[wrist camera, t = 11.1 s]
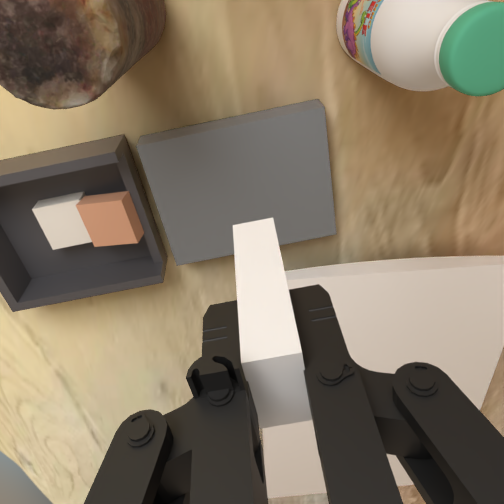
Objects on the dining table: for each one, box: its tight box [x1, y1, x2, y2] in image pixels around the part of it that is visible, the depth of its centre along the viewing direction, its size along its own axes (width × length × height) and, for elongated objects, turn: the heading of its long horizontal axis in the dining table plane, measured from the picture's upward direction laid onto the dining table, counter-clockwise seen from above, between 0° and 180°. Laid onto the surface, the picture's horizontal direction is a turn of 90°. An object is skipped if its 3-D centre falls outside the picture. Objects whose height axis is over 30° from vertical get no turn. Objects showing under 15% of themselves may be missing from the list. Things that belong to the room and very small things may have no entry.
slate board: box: [136, 99, 336, 266], centre depth 46 cm, size 14×18×3 cm
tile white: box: [32, 191, 92, 250], centre depth 47 cm, size 5×5×2 cm
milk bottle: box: [336, 0, 504, 96], centre depth 32 cm, size 8×8×20 cm
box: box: [0, 134, 167, 312], centre depth 46 cm, size 15×17×5 cm
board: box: [262, 256, 504, 498], centre depth 64 cm, size 45×32×5 cm
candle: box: [0, 0, 166, 109], centre depth 30 cm, size 8×7×20 cm
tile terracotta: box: [76, 191, 144, 247], centre depth 46 cm, size 5×5×2 cm
